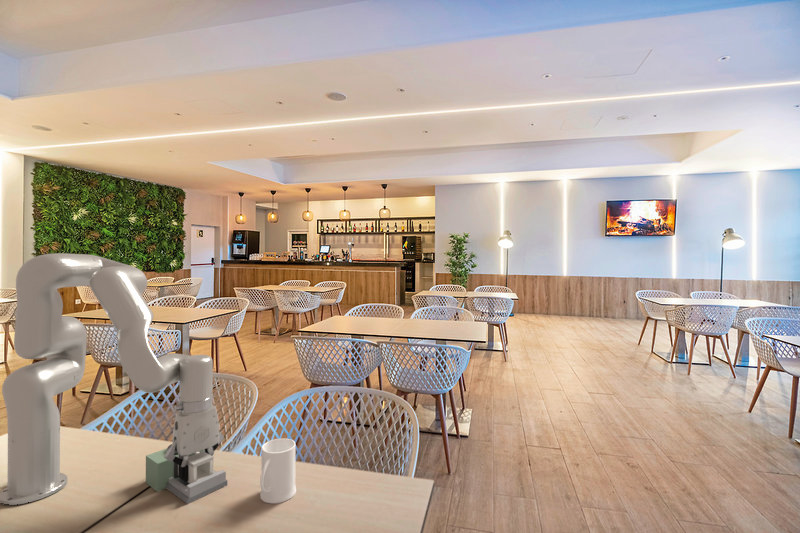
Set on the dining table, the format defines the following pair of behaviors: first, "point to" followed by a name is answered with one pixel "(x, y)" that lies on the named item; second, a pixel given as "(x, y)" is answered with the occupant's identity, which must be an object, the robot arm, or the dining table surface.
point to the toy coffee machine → (166, 476)
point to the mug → (278, 471)
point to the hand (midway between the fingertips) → (195, 474)
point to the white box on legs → (199, 466)
